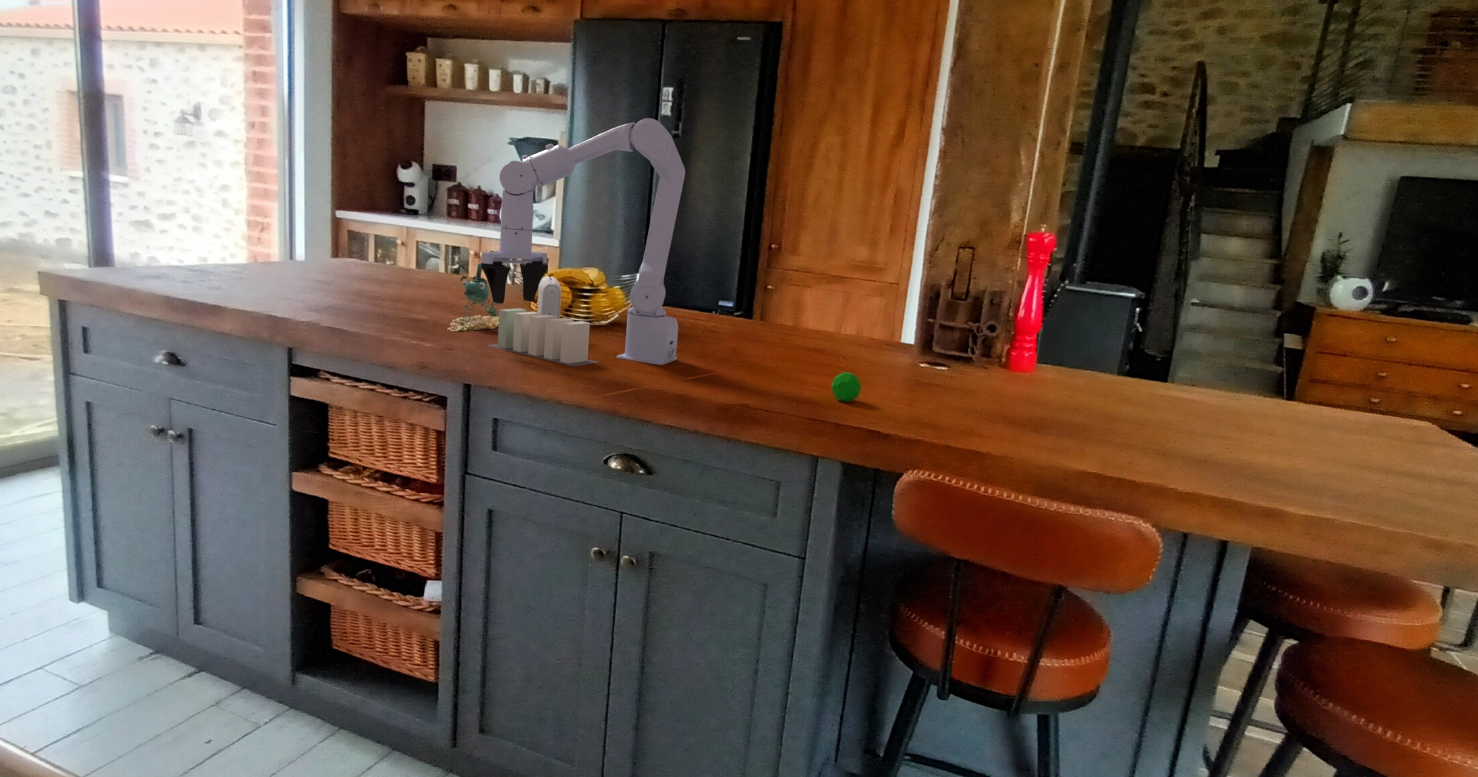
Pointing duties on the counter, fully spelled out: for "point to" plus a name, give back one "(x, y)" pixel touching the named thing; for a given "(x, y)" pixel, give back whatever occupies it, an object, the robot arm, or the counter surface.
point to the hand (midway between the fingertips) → (513, 301)
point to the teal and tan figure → (476, 294)
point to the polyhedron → (846, 387)
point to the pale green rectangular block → (507, 327)
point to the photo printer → (549, 297)
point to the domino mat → (545, 358)
